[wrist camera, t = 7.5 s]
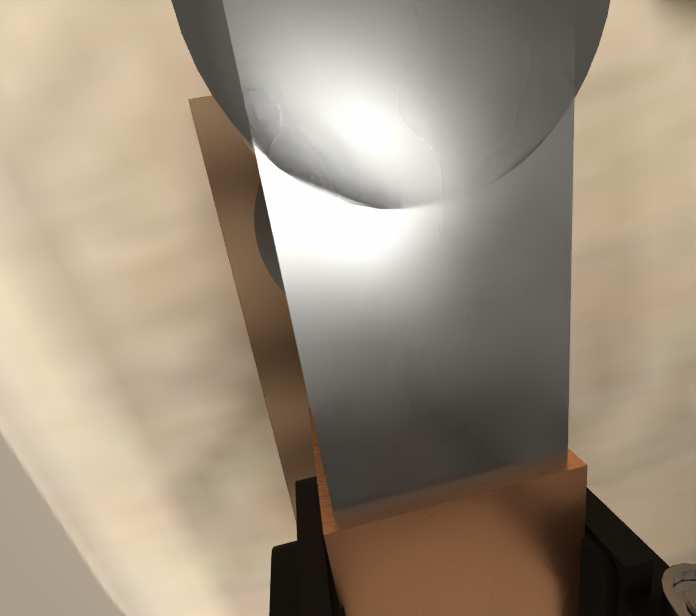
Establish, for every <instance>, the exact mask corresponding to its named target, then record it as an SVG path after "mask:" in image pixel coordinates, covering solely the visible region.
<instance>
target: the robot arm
mask: <svg viewBox="0 0 696 616" xmlns="http://www.w3.org/2000/svg"><path fill="white" fill-rule="evenodd" d="M295 494H296V519H297V541H294V542H290V543H286V544H282V545H278V546H275V547H273V549H272V556H271V582H270V612H269V616H346V614H345V610H344V607H343V608H340V604H339V600H338V596H337V591H336V587H335V583H334V578H333V574H332V570H331V565H330V561H329V557H328V552H327V548H326V544H325V539H324V535H323V526H322V518H321V509H320V501H319V492H318V484H317V477H316V476H314V477H310V478H306V479H302V480H298V481H295ZM579 616H696V564H686V563H682V564H677V565H672V566H671V567H669V566H668V565H667V564H666V563H665V562H664V561H663V560H662V559H661V558H660V557H659V556H658V555H657V554H656V553H655V552H654V551H653V550H652V549H651V548H650V547H648V546H647V545H646V544H645V543H644V542H643V541H642V540H641V539H640V538H639V537H638V536H637V535H636V534H635V533H634V532H633V531H632V530H631V529H630V528H629V527H628V526H627V525H626V524H625V523H624V522H622V521H621V520H620V519H619V518H618V517H617V516H616V515H615V514H614V513H613V512H612V511H611V510H610V509H609V508H608V507H607V506H606V505H605V504H604V503H603V502H602V501H601V500H600V499H599V498H597V497H596V496H595V495H594V494H593V493H592V492H591V491H590V490H589V489H588V488H587V487H586V511H585V537H584V539H581V565H580V593H579Z"/></svg>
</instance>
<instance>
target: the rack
mask: <svg viewBox="0 0 696 616" xmlns="http://www.w3.org/2000/svg"><path fill="white" fill-rule="evenodd" d="M188 100H189V104H190V108H191V112H192V116H193V120H194V124H195V127H196V131H197V135H198V139H199V143H200V147H201V151H202V155H203V159H204V163H205V167H206V171H207V174H208V178H209V182H210V186H211V190H212V194H213V198H214V202H215V206H216V210H217V214H218V218H219V221H220V225H221V229H222V233H223V237H224V241H225V245H226V249H227V253H228V257H229V261H230V264H231V268H232V272H233V276H234V280H235V284H236V288H237V292H238V296H239V300H240V304H241V308H242V311H243V315H244V319H245V323H246V327H247V331H248V335H249V339H250V343H251V347H252V351H253V355H254V358H255V362H256V366H257V370H258V374H259V378H260V382H261V386H262V390H263V394H264V398H265V401H266V405H267V409H268V413H269V417H270V421H271V425H272V429H273V433H274V437H275V441H276V445H277V448H278V452H279V456H280V460H281V464H282V468H283V472H284V476H285V480H286V484H287V488H288V492H289V495H290V499H291V503H292V507H293V511H294V515H295V519H296V494H295V481H298V480H302V479H306V478H310V477H314V476H316V477H317V475H316V467H315V458H314V450H313V441H312V433H311V425H310V416H309V407H310V404H309V399H308V395H307V390H306V385H305V381H304V376H303V371H302V367H301V362H300V358H299V353H298V348H297V344H296V339H295V334H294V330H293V325H292V321H291V316H290V311H289V307H288V302H287V297H286V293H285V288H284V283H283V279H282V274H281V270H280V265H279V260H278V256H277V251H276V246H275V242H274V237H273V232H272V228H271V223H270V219H269V214H268V209H267V205H266V200H265V195H264V191H263V186H262V181H261V177H260V172H259V168H258V163H257V158H256V156H255V155H254V154H253V152H252V151H251V149H250V148H249V147H248V145H247V144H246V143H245V141H244V140H243V138H242V137H241V136H240V134H239V133H238V131H237V130H236V129H235V127H234V126H233V124H232V123H231V122H230V120H229V119H228V117H227V116H226V114H225V113H224V112H223V110H222V109H221V107H220V106H219V105H218V103H217V102H216V100H215V99H214V97H213V96H207V97H200V98H192V99H188ZM296 523H297V519H296Z"/></svg>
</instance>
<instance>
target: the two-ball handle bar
mask: <svg viewBox="0 0 696 616" xmlns="http://www.w3.org/2000/svg"><path fill="white" fill-rule="evenodd" d="M172 4H173V7H174V10H175V13H176V17H177V20H178V23H179V26H180V30H181V33H182V35H183V38H184V40H185V42H186V44H187V47H188V49H189V51H190V54H191V56H192V58H193V61H194V63H195V65H196V68H197V69H198V71H199V73H200V75H201V76H202V78H203V80H204V82H205V83H206V85H207V87H208V89H209V90H210V92H211V94H212V96H213V97H214V99H215V100H216V102H217V103H218V105H219V106H220V107H221V109H222V110H223V112H224V113H225V114H226V116H227V117H228V119H229V120H230V122H231V123H232V124H233V126H234V127H235V129H236V130H237V131H238V133H239V134H240V136H241V137H242V138H243V140H244V141H245V143H246V144H247V145H248V147H249V148H250V149H251V151H252V152H253V154H254V155H255V156H256V158H257V163H258V168H259V172H260V177H261V181H262V186H263V191H264V195H265V200H266V205H267V209H268V214H269V219H270V223H271V228H272V232H273V237H274V242H275V246H276V251H277V256H278V260H279V265H280V270H281V274H282V279H283V283H284V288H285V293H286V297H287V302H288V307H289V311H290V316H291V321H292V325H293V330H294V334H295V339H296V344H297V348H298V353H299V358H300V362H301V367H302V371H303V376H304V381H305V385H306V390H307V395H308V399H309V404H310V407H309V416H310V425H311V433H312V441H313V450H314V458H315V467H316V475H317V484H318V492H319V501H320V509H321V518H322V526H323V535H324V539H325V544H326V548H327V552H328V557H329V561H330V565H331V570H332V574H333V578H334V583H335V587H336V591H337V596H338V600H339V604H340V608H343V607H344V610H345V614H346V616H579V593H580V565H581V539H584V537H585V511H586V484H587V465H586V464H585V463H584V462H583V461H582V460H581V459H580V458H578V457H577V456H576V455H575V454H574V453H573V452H572V451H570V450H569V449H568V406H569V353H570V301H571V248H572V195H573V142H574V98H575V96H576V95H577V93H578V91H579V89H580V87H581V85H582V83H583V81H584V79H585V77H586V76H587V73H588V71H589V68H590V66H591V63H592V61H593V58H594V56H595V53H596V51H597V48H598V46H599V42H600V39H601V36H602V32H603V29H604V25H605V22H606V19H607V15H608V10H609V4H610V0H172Z"/></svg>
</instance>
